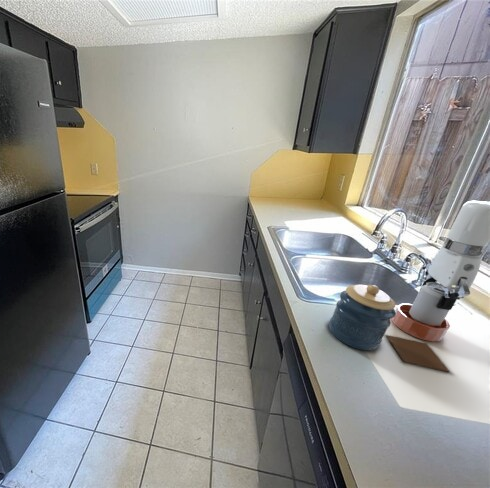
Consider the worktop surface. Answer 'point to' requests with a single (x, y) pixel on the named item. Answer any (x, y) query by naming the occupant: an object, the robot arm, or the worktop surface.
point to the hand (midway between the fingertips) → (434, 300)
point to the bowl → (418, 325)
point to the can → (429, 305)
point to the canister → (362, 316)
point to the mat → (416, 353)
